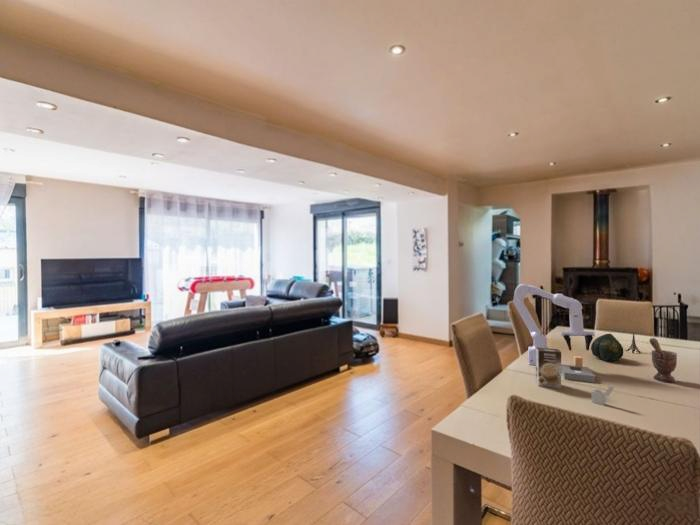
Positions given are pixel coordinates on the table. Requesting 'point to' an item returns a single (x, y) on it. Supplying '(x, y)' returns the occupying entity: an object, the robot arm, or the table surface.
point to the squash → (607, 348)
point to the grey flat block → (577, 373)
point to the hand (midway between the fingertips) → (578, 350)
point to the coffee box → (548, 367)
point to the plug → (577, 361)
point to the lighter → (600, 395)
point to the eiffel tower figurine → (633, 345)
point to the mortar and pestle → (663, 362)
